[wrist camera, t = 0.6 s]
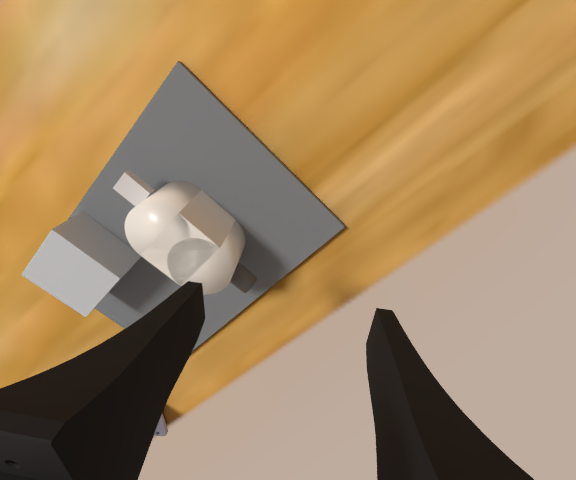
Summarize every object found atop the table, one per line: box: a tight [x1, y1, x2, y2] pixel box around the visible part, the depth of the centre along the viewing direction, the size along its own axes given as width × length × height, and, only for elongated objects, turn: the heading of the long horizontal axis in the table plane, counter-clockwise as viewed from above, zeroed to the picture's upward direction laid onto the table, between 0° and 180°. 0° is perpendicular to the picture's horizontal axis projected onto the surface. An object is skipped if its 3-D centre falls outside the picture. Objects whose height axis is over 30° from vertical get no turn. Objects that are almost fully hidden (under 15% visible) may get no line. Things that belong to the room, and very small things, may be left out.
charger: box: [21, 211, 141, 317], centre depth 23 cm, size 5×5×3 cm
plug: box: [113, 170, 257, 295], centre depth 21 cm, size 10×4×4 cm, turn 46°
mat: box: [68, 61, 345, 351], centre depth 24 cm, size 20×14×1 cm
